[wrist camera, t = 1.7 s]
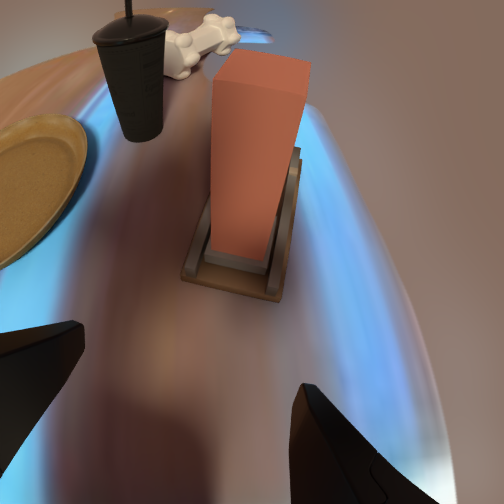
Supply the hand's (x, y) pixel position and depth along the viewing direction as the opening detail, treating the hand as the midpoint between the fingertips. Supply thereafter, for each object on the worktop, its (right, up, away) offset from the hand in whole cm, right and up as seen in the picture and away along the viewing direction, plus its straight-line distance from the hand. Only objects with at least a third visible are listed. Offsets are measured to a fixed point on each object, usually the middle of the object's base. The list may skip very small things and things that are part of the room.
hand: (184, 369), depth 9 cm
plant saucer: (-27, +10, +19) cm, 34 cm away
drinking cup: (-11, +18, +25) cm, 33 cm away
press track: (+2, +7, +20) cm, 21 cm away
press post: (+1, +4, +17) cm, 18 cm away
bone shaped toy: (-7, +35, +36) cm, 51 cm away
